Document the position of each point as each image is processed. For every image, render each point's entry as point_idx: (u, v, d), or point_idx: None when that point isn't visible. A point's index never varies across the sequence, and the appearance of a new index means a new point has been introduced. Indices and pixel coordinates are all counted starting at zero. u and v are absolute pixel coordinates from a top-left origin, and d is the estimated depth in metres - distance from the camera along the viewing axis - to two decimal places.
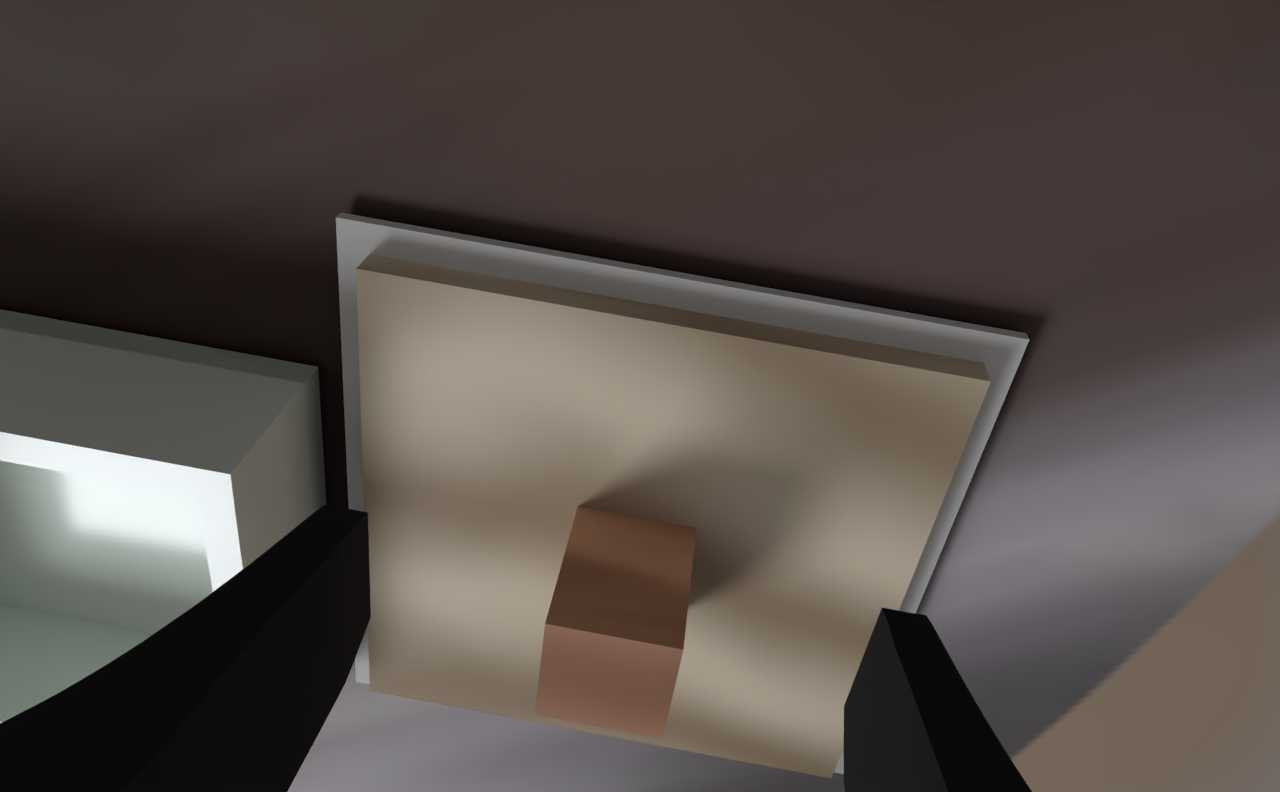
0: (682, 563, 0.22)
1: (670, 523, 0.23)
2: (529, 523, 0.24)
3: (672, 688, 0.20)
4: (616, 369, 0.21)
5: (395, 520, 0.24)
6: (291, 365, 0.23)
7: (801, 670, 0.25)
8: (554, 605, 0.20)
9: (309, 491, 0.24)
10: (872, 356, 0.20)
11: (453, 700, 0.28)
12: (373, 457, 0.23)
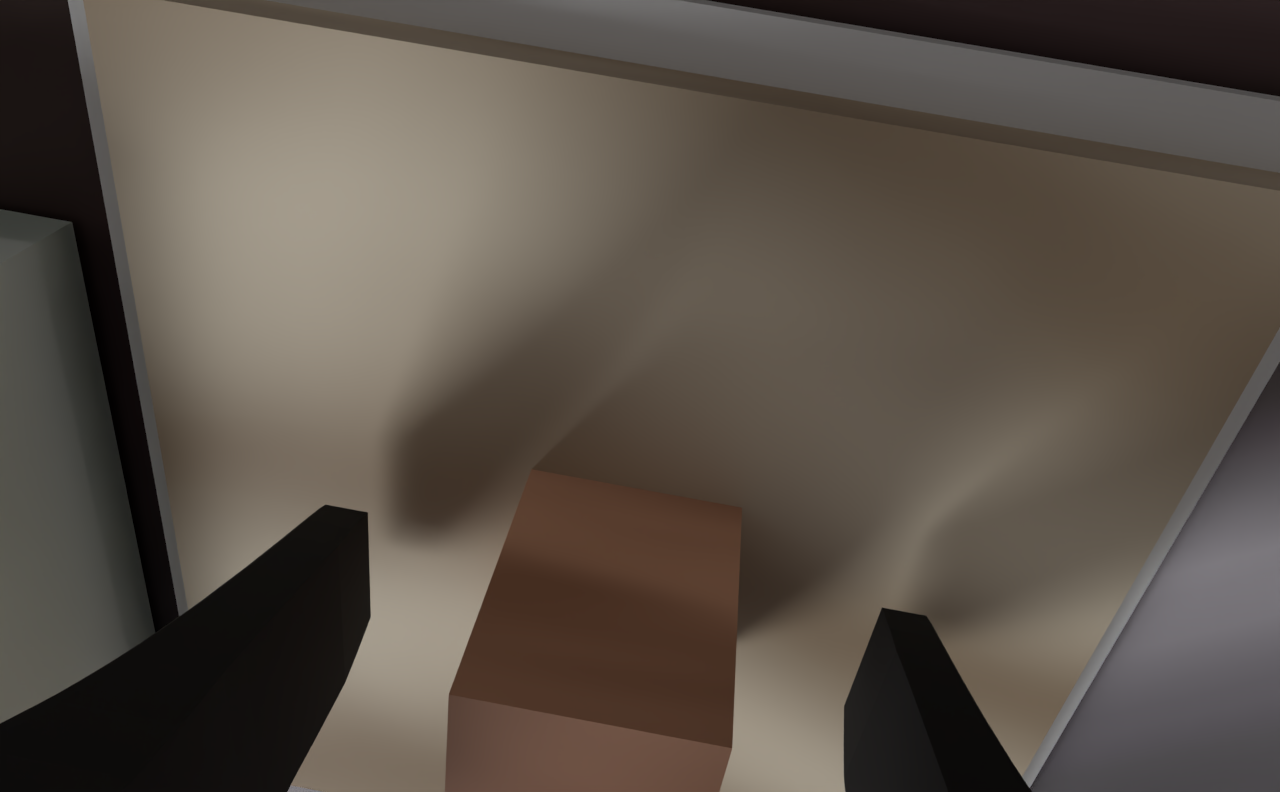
0: (721, 570, 0.12)
1: (696, 499, 0.13)
2: (448, 500, 0.14)
3: None
4: (598, 195, 0.11)
5: (220, 496, 0.14)
6: (22, 218, 0.13)
7: None
8: (472, 655, 0.10)
9: (70, 446, 0.14)
10: (1107, 157, 0.10)
11: (346, 786, 0.18)
12: (168, 382, 0.13)
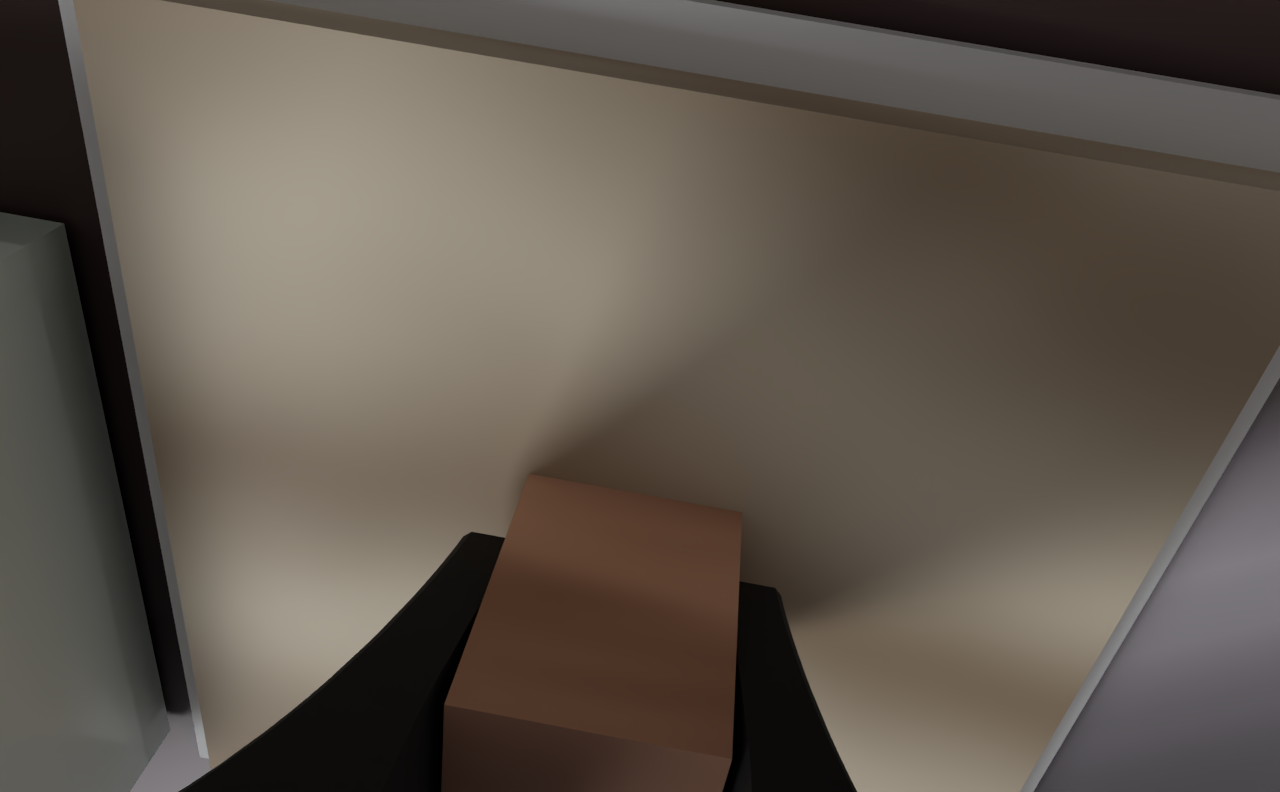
0: (720, 577, 0.12)
1: (695, 504, 0.13)
2: (445, 505, 0.13)
3: None
4: (595, 197, 0.11)
5: (215, 500, 0.14)
6: (13, 219, 0.13)
7: (912, 755, 0.15)
8: (468, 663, 0.10)
9: (63, 450, 0.14)
10: (1113, 158, 0.10)
11: None
12: (161, 385, 0.13)
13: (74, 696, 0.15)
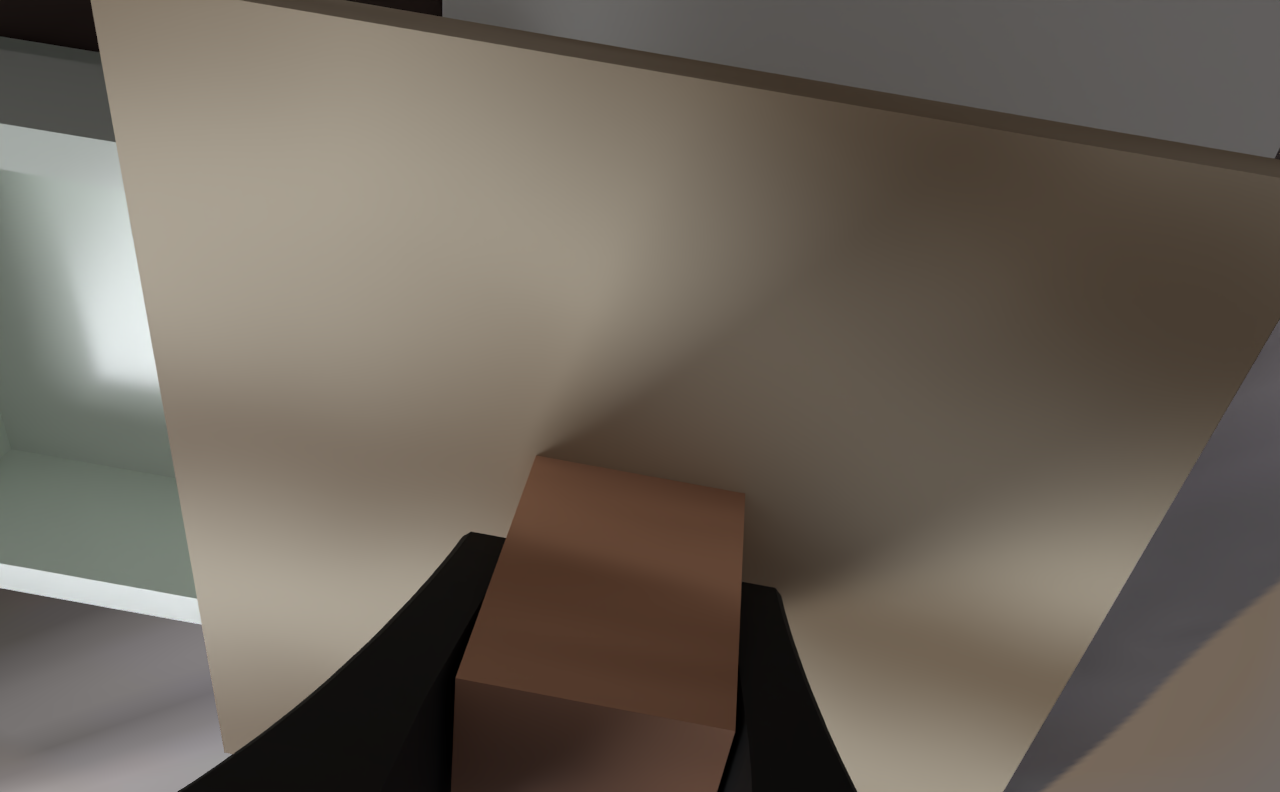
0: (724, 556, 0.12)
1: (699, 485, 0.13)
2: (454, 486, 0.14)
3: None
4: (602, 183, 0.11)
5: (227, 482, 0.14)
6: None
7: (911, 731, 0.15)
8: (478, 639, 0.10)
9: None
10: (1111, 145, 0.10)
11: None
12: (175, 368, 0.13)
13: None
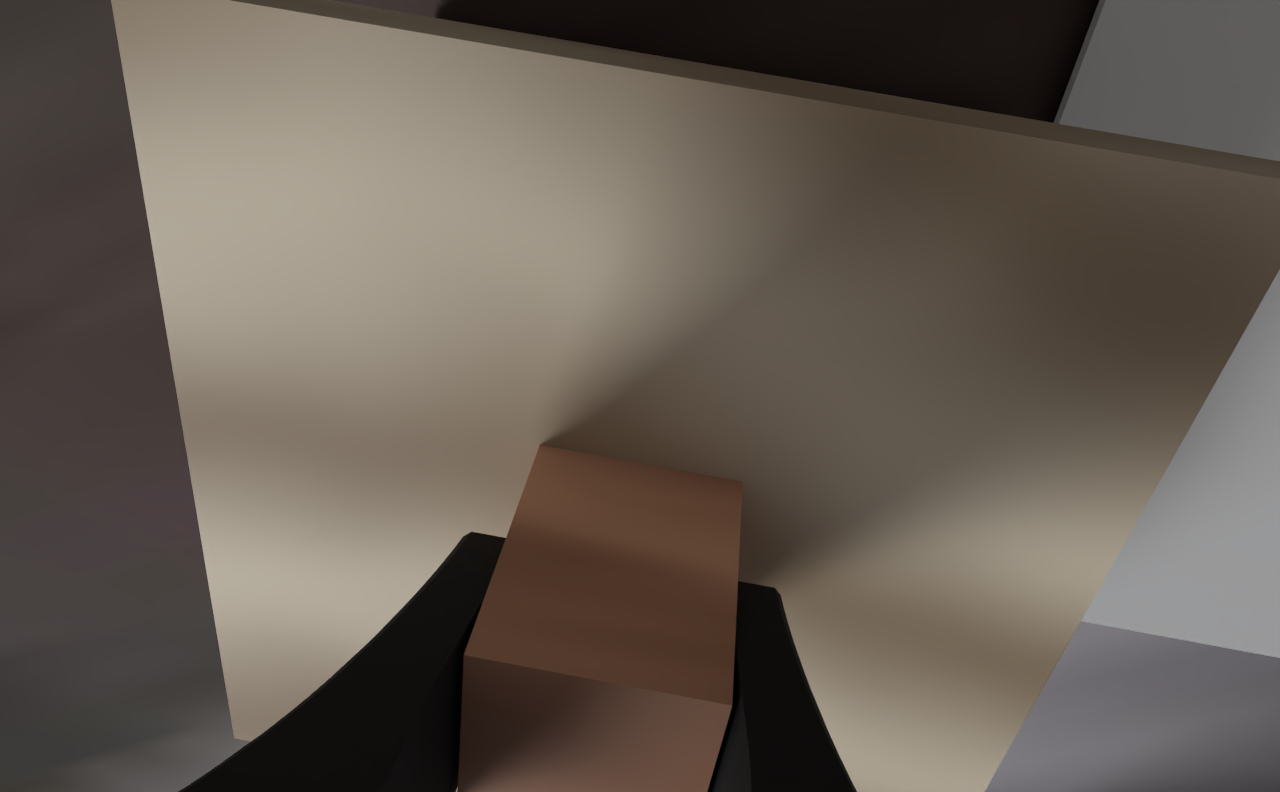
0: (722, 541, 0.12)
1: (698, 473, 0.14)
2: (460, 475, 0.14)
3: (708, 774, 0.11)
4: (603, 180, 0.11)
5: (240, 471, 0.15)
6: None
7: (905, 715, 0.16)
8: (485, 618, 0.11)
9: None
10: (1093, 142, 0.11)
11: None
12: (190, 361, 0.14)
13: None
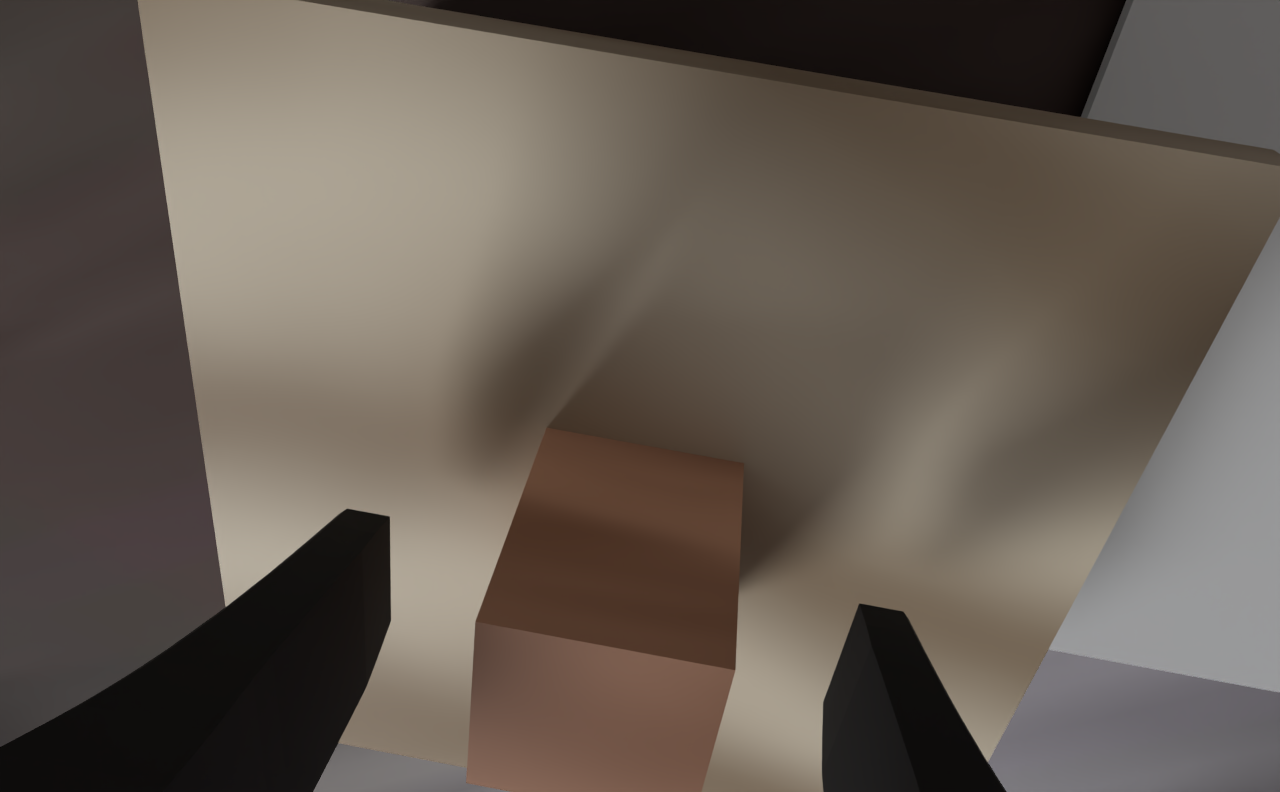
0: (724, 518, 0.13)
1: (701, 455, 0.14)
2: (468, 458, 0.14)
3: (712, 740, 0.11)
4: (610, 166, 0.12)
5: (253, 456, 0.15)
6: None
7: None
8: (495, 588, 0.11)
9: None
10: (1081, 129, 0.11)
11: (368, 739, 0.18)
12: (206, 346, 0.14)
13: None
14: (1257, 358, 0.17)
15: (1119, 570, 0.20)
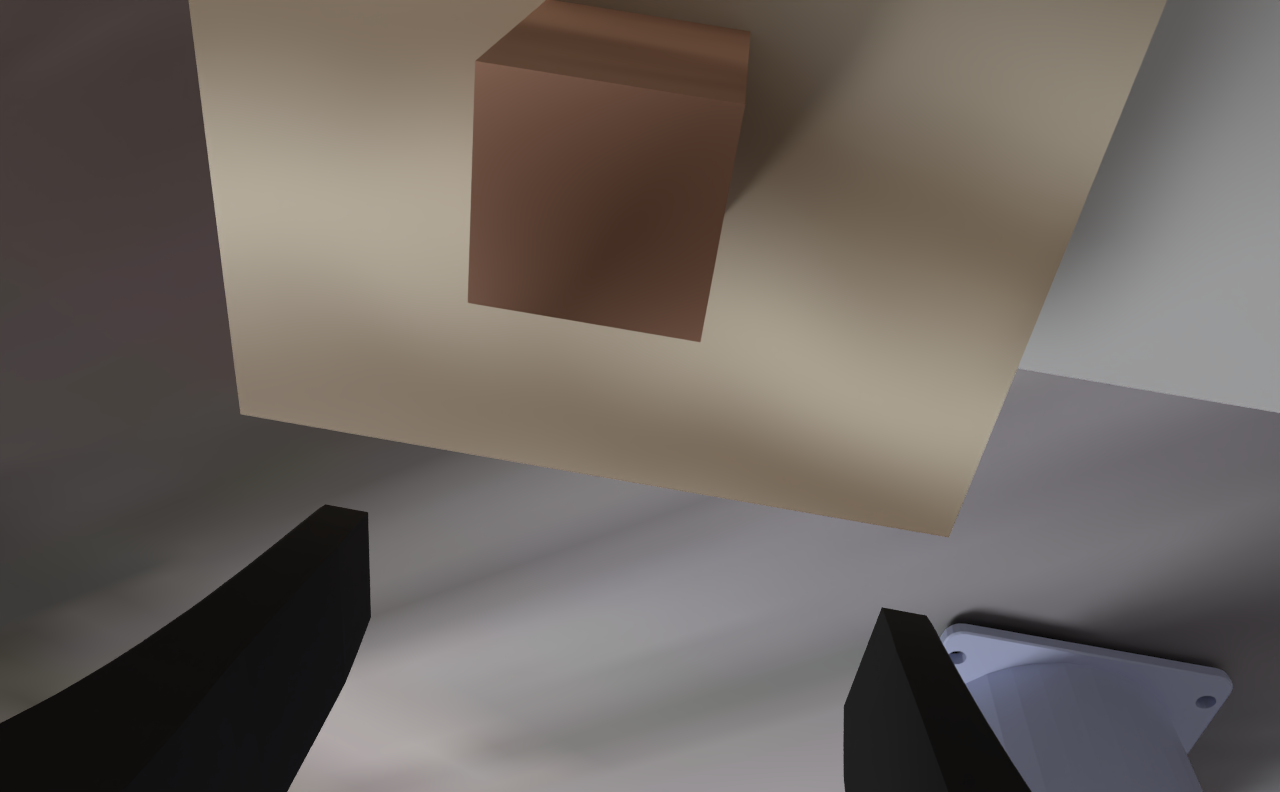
0: (731, 48, 0.12)
1: (706, 23, 0.14)
2: (467, 46, 0.14)
3: (721, 211, 0.11)
4: None
5: (246, 59, 0.15)
6: None
7: (914, 328, 0.16)
8: (496, 50, 0.11)
9: None
10: None
11: (367, 424, 0.18)
12: None
13: None
14: (1274, 7, 0.17)
15: (1132, 275, 0.20)
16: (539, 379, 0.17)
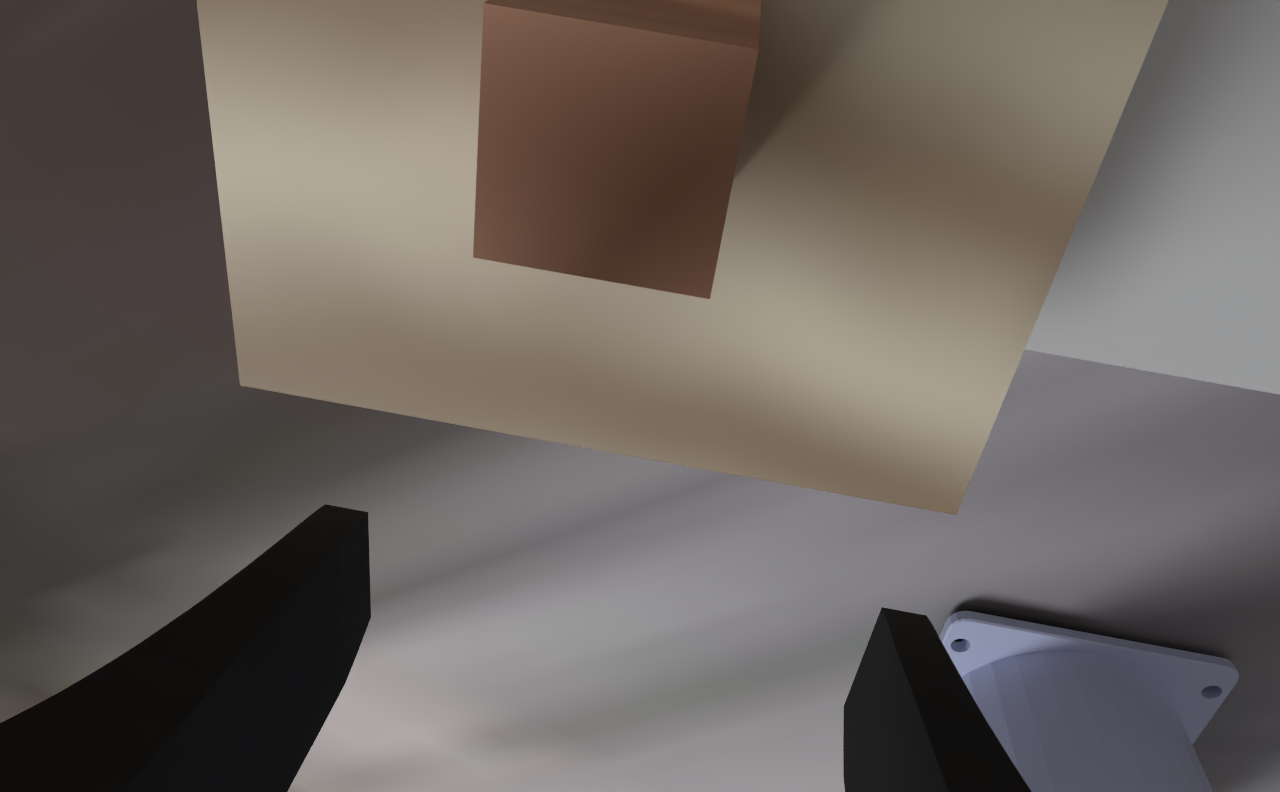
0: (743, 3, 0.12)
1: None
2: (474, 4, 0.14)
3: (733, 161, 0.11)
4: None
5: (250, 17, 0.14)
6: None
7: (923, 299, 0.16)
8: None
9: None
10: None
11: (369, 396, 0.18)
12: None
13: None
14: None
15: (1142, 254, 0.20)
16: (543, 350, 0.17)
